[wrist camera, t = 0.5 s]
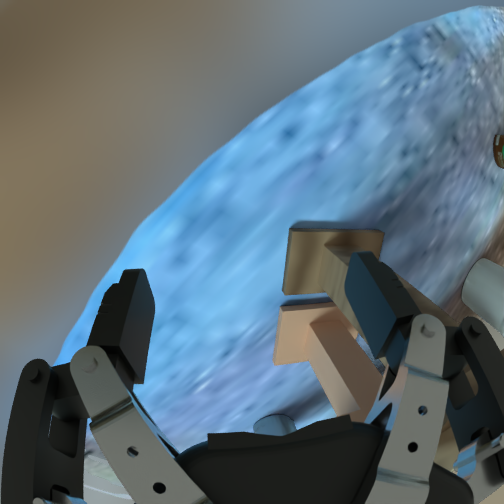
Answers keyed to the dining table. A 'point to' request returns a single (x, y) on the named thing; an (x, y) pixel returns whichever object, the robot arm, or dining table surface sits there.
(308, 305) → the terracotta base stand
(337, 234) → the walnut base stand
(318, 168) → the dining table surface
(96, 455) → the dining table surface
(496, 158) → the food container
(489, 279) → the utensil holder
